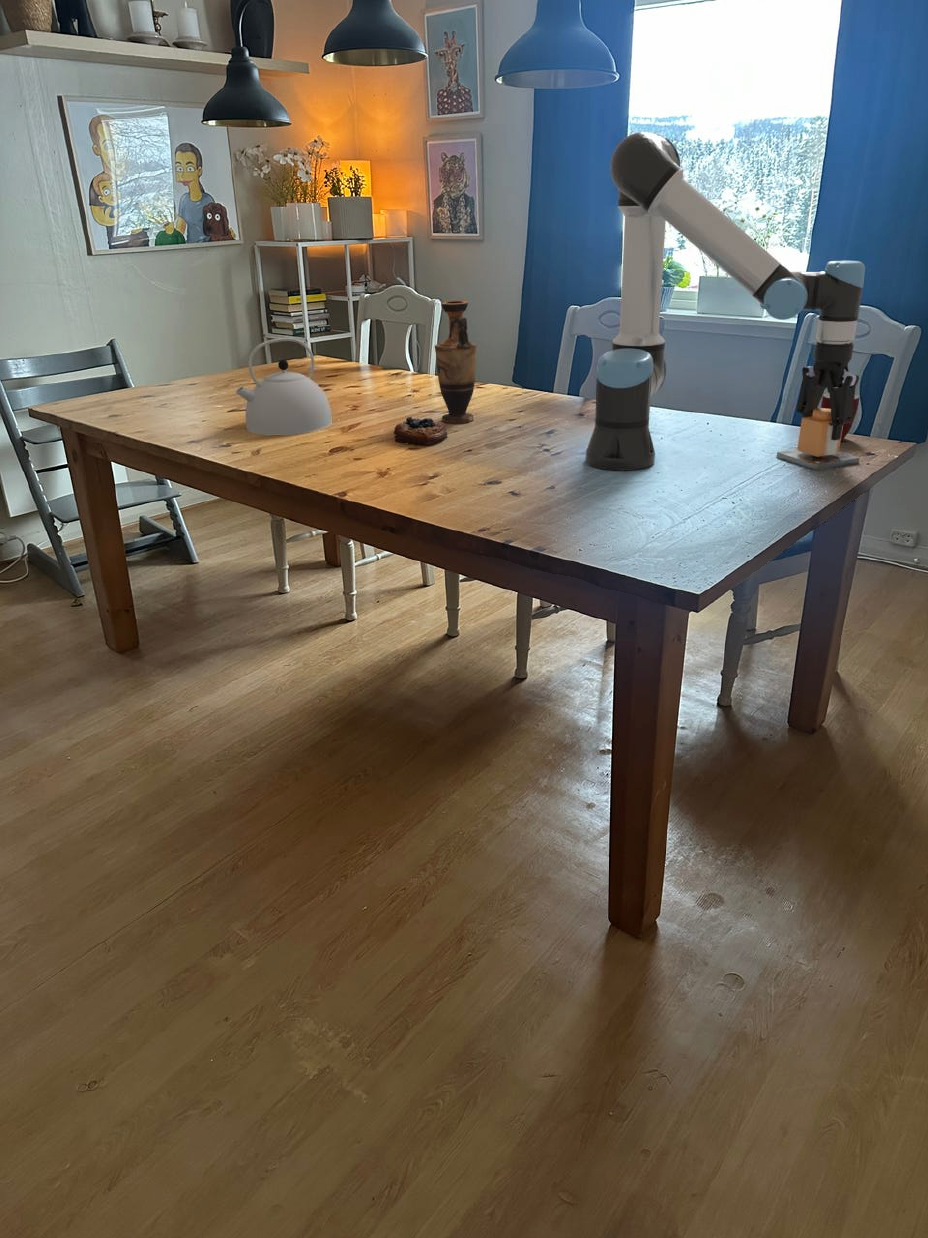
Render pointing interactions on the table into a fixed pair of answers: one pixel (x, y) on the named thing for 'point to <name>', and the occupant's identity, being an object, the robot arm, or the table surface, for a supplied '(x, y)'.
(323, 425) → the kettle
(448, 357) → the vase
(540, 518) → the table surface
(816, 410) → the orange block
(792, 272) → the robot arm
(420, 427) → the pastry
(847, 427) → the mug
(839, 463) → the plate
